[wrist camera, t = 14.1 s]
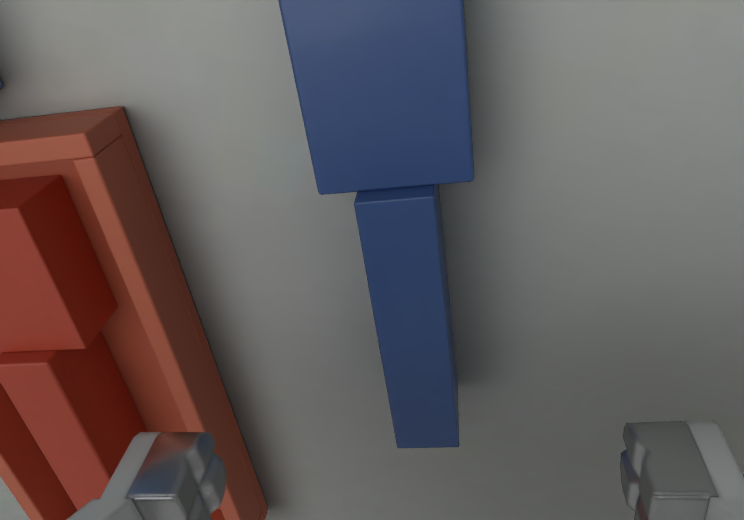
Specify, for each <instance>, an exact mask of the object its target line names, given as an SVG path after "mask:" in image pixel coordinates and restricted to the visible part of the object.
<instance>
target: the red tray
mask: <svg viewBox="0 0 744 520" xmlns="http://www.w3.org/2000/svg"><path fill="white" fill-rule="evenodd" d="M51 175H61V176H62V178H63V180H64V182H65V185H66V187H67V189H68V192H69V194H70V196H71V199H72V201H73V203H74V206H75V208H76V210H77V213H78V215H79V217H80V220H81V222H82V224H83V226H84V229H85V231H86V233H87V236H88V238H89V240H90V243H91V245H92V247H93V250H94V252H95V254H96V257H97V259H98V261H99V264H100V266H101V268H102V271H103V273H104V275H105V277H106V280H107V282H108V284H109V287H110V289H111V291H112V294H113V296H114V298H115V301H116V303H117V305H118V307H117V309H116V310H115V311H114V313H113V314H112V315H111V317H110V318H109V319H108V321H107V322H106V323H105V325H104V326H103V327H102V328H101V332H102V334H103V336H104V339H105V341H106V343H107V345H108V347H109V349H110V352H111V354H112V356H113V358H114V360H115V362H116V365H117V367H118V369H119V371H120V373H121V376H122V378H123V380H124V382H125V384H126V386H127V389H128V391H129V393H130V395H131V397H132V399H133V402H134V404H135V406H136V408H137V410H138V412H139V415H140V417H141V419H142V421H143V423H144V425H145V428H146V430H147V432H208V433H211V434H212V436H213V438H214V441H215V443H216V445H215V448H214V450H213V452H214V453H215V454H216V455H218V456H219V457H221V458H222V460H223V463H224V465H225V470H226V477H227V478H226V487H225V494H224V497H223V500H222V503H221V505H220V506H219V507H218V508H217V509H216V510H215V511H214V512H212V513H211V514H210V516H211V518H212V520H265V518H266V514H267V510H268V507H267V504H266V502H265V499H264V496H263V493H262V491H261V488H260V485H259V482H258V480H257V477H256V474H255V471H254V469H253V466H252V463H251V460H250V457H249V455H248V452H247V449H246V446H245V444H244V441H243V438H242V435H241V433H240V430H239V427H238V424H237V422H236V419H235V416H234V413H233V411H232V408H231V405H230V402H229V399H228V397H227V394H226V391H225V388H224V386H223V383H222V380H221V377H220V375H219V372H218V369H217V366H216V364H215V361H214V358H213V355H212V352H211V350H210V347H209V344H208V341H207V339H206V336H205V333H204V330H203V328H202V325H201V322H200V319H199V317H198V314H197V311H196V308H195V305H194V303H193V300H192V297H191V294H190V292H189V289H188V286H187V283H186V281H185V278H184V275H183V272H182V270H181V267H180V264H179V261H178V258H177V256H176V253H175V250H174V247H173V245H172V242H171V239H170V236H169V234H168V231H167V228H166V225H165V223H164V220H163V217H162V214H161V211H160V209H159V206H158V203H157V200H156V198H155V195H154V192H153V189H152V187H151V184H150V181H149V178H148V176H147V173H146V170H145V167H144V164H143V162H142V159H141V156H140V153H139V151H138V148H137V145H136V142H135V140H134V137H133V134H132V131H131V129H130V126H129V123H128V120H127V117H126V115H125V112H124V109H123V107H121V106H119V107H111V108H102V109H94V110H85V111H77V112H69V113H60V114H52V115H43V116H35V117H27V118H18V119H10V120H1V121H0V180H7V179H18V178H29V177H40V176H51ZM1 353H2V352H0V354H1ZM0 476H1V478H2V479H3V481H4V482H5V484H6V485H7V486H8V488H9V489H10V491H11V492H12V494H13V495H14V497H15V498H16V500H17V501H18V503H19V504H20V505H21V507H22V508H23V510H24V511H25V513H26V514H27V516H28V517H29V519H30V520H66V519H68V518H69V517H70V516H72V515H73V514H74V513H75V512H77V511H78V510H77V509H76V507H75V505H74V504H73V502H72V500H71V499H70V497H69V495H68V494H67V492H66V490H65V489H64V487H63V485H62V484H61V482H60V480H59V479H58V477H57V475H56V474H55V472H54V470H53V469H52V467H51V465H50V464H49V462H48V460H47V459H46V457H45V455H44V454H43V452H42V450H41V449H40V447H39V445H38V444H37V442H36V440H35V439H34V437H33V435H32V434H31V432H30V430H29V429H28V427H27V425H26V424H25V422H24V420H23V419H22V417H21V415H20V414H19V412H18V410H17V409H16V407H15V405H14V404H13V402H12V401H11V399H10V397H9V396H8V394H7V392H6V391H5V389H4V387H3V386H2V384H1V382H0Z"/></svg>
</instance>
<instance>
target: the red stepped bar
mask: <svg viewBox="0 0 744 520" xmlns="http://www.w3.org/2000/svg"><path fill="white" fill-rule="evenodd" d="M117 307H118V305H117V303H116V301H115V298H114V296H113V294H112V291H111V289H110V287H109V284H108V282H107V280H106V277H105V275H104V273H103V271H102V268H101V266H100V264H99V261H98V259H97V257H96V254H95V252H94V250H93V247H92V245H91V243H90V240H89V238H88V236H87V233H86V231H85V229H84V226H83V224H82V222H81V220H80V217H79V215H78V213H77V210H76V208H75V206H74V203H73V201H72V199H71V196H70V194H69V192H68V189H67V187H66V185H65V182H64V180H63V178H62V176H61V175H51V176H40V177H29V178H18V179H7V180H0V352H2V353H1V354H0V382H1V384H2V386H3V387H4V389H5V391H6V392H7V394H8V396H9V397H10V399H11V401H12V402H13V404H14V405H15V407H16V409H17V410H18V412H19V414H20V415H21V417H22V419H23V420H24V422H25V424H26V425H27V427H28V429H29V430H30V432H31V434H32V435H33V437H34V439H35V440H36V442H37V444H38V445H39V447H40V449H41V450H42V452H43V454H44V455H45V457H46V459H47V460H48V462H49V464H50V465H51V467H52V469H53V470H54V472H55V474H56V475H57V477H58V479H59V480H60V482H61V484H62V485H63V487H64V489H65V490H66V492H67V494H68V495H69V497H70V499H71V500H72V502H73V504H74V505H75V507H76V509H77V510H79V509H81V508H82V507H83V506H84V505H86V504H87V503H88V502H90V501H91V500H92V499H100V497H101V495H102V493H103V492H104V490H105V488H106V486H107V484H108V483H109V481H110V479H111V477H112V475H113V474H114V472H115V470H116V468H117V466H118V464H119V463H120V461H121V459H122V457H123V455H124V454H125V452H126V450H127V448H128V446H129V444H130V443H131V441H132V439H133V438H134V437H135V436H136V435H137V434H138V433H140V432H147V430H146V428H145V425H144V423H143V421H142V419H141V417H140V415H139V412H138V410H137V408H136V406H135V404H134V402H133V399H132V397H131V395H130V393H129V391H128V389H127V386H126V384H125V382H124V380H123V378H122V376H121V373H120V371H119V369H118V367H117V365H116V362H115V360H114V358H113V356H112V354H111V352H110V349H109V347H108V345H107V343H106V341H105V339H104V336H103V334H102V332H101V328H102V327H103V326H104V325H105V323H106V322H107V321H108V319H109V318H110V317H111V315H112V314H113V313H114V311H115V310H116V309H117Z"/></svg>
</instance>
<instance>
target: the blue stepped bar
mask: <svg viewBox="0 0 744 520" xmlns="http://www.w3.org/2000/svg"><path fill="white" fill-rule="evenodd" d="M278 1H279V6H280V10H281V15H282V20H283V25H284V30H285V34H286V39H287V44H288V49H289V54H290V58H291V63H292V68H293V73H294V78H295V82H296V87H297V92H298V97H299V102H300V106H301V111H302V116H303V121H304V126H305V130H306V135H307V140H308V145H309V150H310V154H311V159H312V164H313V169H314V174H315V178H316V183H317V188H318V192H319V194H321V195H324V194H335V193H346V192H357V195H356V199H355V202H354V206H355V212H356V218H357V223H358V229H359V235H360V240H361V246H362V252H363V257H364V263H365V268H366V274H367V280H368V285H369V291H370V297H371V302H372V308H373V314H374V319H375V325H376V331H377V336H378V342H379V348H380V353H381V359H382V365H383V370H384V376H385V381H386V387H387V393H388V398H389V404H390V410H391V415H392V421H393V427H394V432H395V438H396V444H397V447H398V448H437V447H459V412H458V383H457V372H456V362H455V351H454V341H453V330H452V320H451V309H450V299H449V289H448V278H447V268H446V257H445V247H444V236H443V226H442V215H441V205H440V195H439V184H448V183H459V182H471V181H473V180H474V163H473V147H472V131H471V115H470V99H469V83H468V67H467V51H466V35H465V18H464V2H463V0H278Z"/></svg>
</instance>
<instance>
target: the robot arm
mask: <svg viewBox="0 0 744 520" xmlns="http://www.w3.org/2000/svg"><path fill="white" fill-rule="evenodd" d="M623 439H624V442H625V446H626V449H625V450H624V451H623V452H622V453H621V460H620V472H621V482H622V488H623V493H624V496H625V500H626V504H627V505H628V506H629V507H630V508H631V509H632V510H633V511H634V512H635V516H634V520H744V475H743V473H742V471H741V469H740V467H739V465H738V463H737V461H736V459H735V457H734V455H733V453H732V451H731V449H730V447H729V445H728V443H727V441H726V439H725V437H724V435H723V433H722V431H721V429H720V427H719V425H718V424H717V423H716V422H714V421H684V422H682V421H669V422H638V423H626V424H625V427H624V432H623ZM215 445H216V443H215V441H214V438H213V436H212V434H211V433H208V432H140V433H138V434H137V435H136V436H135V437H134V438H133V439H132V441H131V443H130V444H129V446H128V448H127V450H126V452H125V454H124V455H123V457H122V459H121V461H120V463H119V464H118V466H117V468H116V470H115V472H114V474H113V475H112V477H111V479H110V481H109V483H108V484H107V486H106V488H105V490H104V492H103V493H102V495H101V497H100V499H92V500H91V501H90V502H88V503H87V504H86V505H84V506H83V507H82V508H81V509H79V510H78V511H77V512H75V513H74V514H73V515H72V516H70V517H69V518H68V519H66V520H212V518H211V516H210V514H211V513H212V512H214V511H215V510H216V509H217V508H218V507H219V506H220V505H221V503H222V500H223V497H224V494H225V487H226V478H227V477H226V470H225V465H224V463H223V460H222V458H221V457H219V456H218V455H216V454H215V453H214V452H213V450H214V448H215Z"/></svg>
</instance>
